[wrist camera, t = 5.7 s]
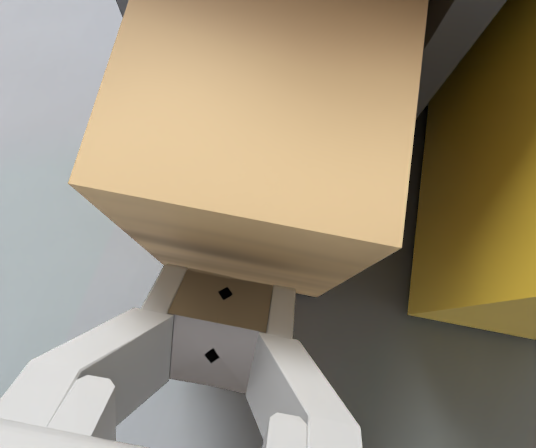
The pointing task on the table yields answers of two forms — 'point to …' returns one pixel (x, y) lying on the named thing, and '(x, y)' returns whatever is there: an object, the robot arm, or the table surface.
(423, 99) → the grey slotted holder
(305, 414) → the robot arm
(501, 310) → the yellow rectangular block
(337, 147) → the light wood block
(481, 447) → the table surface
